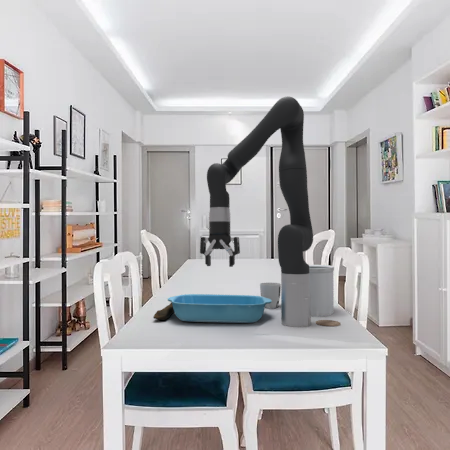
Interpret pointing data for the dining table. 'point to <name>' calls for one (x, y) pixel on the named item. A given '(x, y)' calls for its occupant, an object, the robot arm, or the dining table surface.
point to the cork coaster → (328, 323)
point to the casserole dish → (219, 307)
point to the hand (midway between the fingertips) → (219, 266)
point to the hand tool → (164, 312)
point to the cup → (271, 293)
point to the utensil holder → (321, 289)
